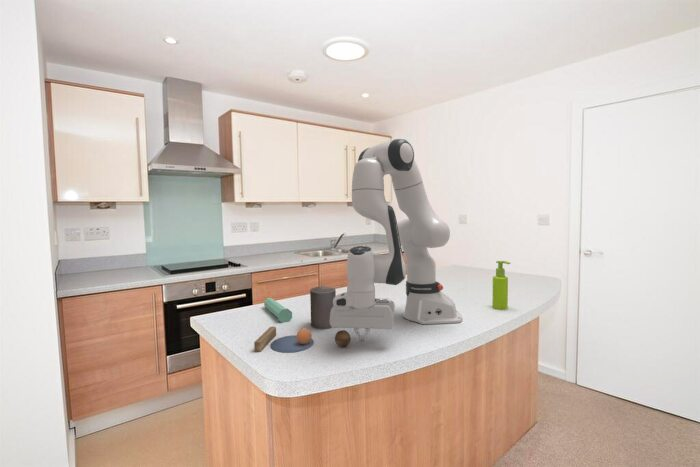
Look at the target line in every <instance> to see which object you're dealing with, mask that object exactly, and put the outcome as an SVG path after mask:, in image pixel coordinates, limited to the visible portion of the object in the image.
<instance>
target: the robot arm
mask: <svg viewBox="0 0 700 467" xmlns="http://www.w3.org/2000/svg"><path fill="white" fill-rule="evenodd" d="M386 175H389V176H390V177H391V183H392V188H393V190H394V195H395V199H396V202H397V205H398V208H399V210H400V211H401V212H402V213H403V214H405V216H406V217H407V218H406V219H402V220H400V221H397V217H396V212H395V210H394V208H393V207H392V205H390V204H388V202H387V200H386V198H385V197H386V196H385V184H384V182H385V181H384V180H385V179H384V177H385V176H386ZM351 180H352V181H351V202H352V203H351V204H352V207H353V209H354V210H355V212H356V213H357V214H359V215H360V216H362V217H363V218H366V219H369V220H370V221H374V222H376V223H378V224H380V225H381V226H382V227H383V229H384V230H385V235H386V242H387V248H388V253H386V254H385V253H384V254H379V253H376V254H374V252H373V249H372V247H371V246H370V247H369V246H365V245H361V246H360V245H359V246H353V247H352V248H350V249H349V250H348V252H347V259H346V279H347V286H346V291H345V292H342V293H338V294H336V296H335V298H334V299H333V305H334V306H333V307H332V309H331V312H330V325H331V327H332V328H334V329H336V328H337V329H353V333H354V334H355V336H356V340H357V343H358V342H362V343H366V342H367V340H368V339H367V337H368V335H369V333H370V332H371V330H374V329H375V330H392V329H393V328H394V324H395V323H394V322H395V320H394V312H395V308H396V307H395V306H396V305H395V303H394V301H393V300H391V299H389V298H376V286H375V284H385V285H392V286H398V285H399V284H401V283H402V282H403V281H404V280H405V279H406V281H405V282H406V283H405V294H406V300H405V306H404V312H403V315H402V316H403V318H405V319H406V320H408V321H411V322H412V321H413V322H415V323H418V324H420V325H433V324H435V325H439V324H457V323H458V324H459V323H461V322H462V321H463V316H462V314H461V313H460V312H459V311H457V309H456V304H455V303H454V301H453V299H452V298H450V297H449V296H447V295H446V294H445V293H444V292H443V289H444V286H443V284H441V283H440V282H439V281H436V280H437V279H436V276H437V275H436V274H437V273H436V266H437V265H436V261H435V259H434V258H433V257H432V256H431V254H430V252H429V250H428V249H434V248H441V247H444V246H445V245H446V244H447V243H448V242H449V240H450V236H451V229H450V227H449V225H448V224H447V223H446V222H445V221H444V220H442V219H441V218H440V217H439V216H438V215H437V214H436V212H435V210H434V209H433V207H432V206H431V204H430V201H429V199H428V197H427V193H426V190H425V185H424V182H423V177H422V175H421V172H420V169H419V166H418V165H417V162H416V160H415V151H414V148H413V146H412V144H411V143H410V142H409V141H408V140H406V139H404V138H403V139H402V138H397V139H393V140H389V141H383V142H380V143H378V144H376V145H374V146H371V147H367V148H365V149H364V150H362V151H361V152H360V154H359V156H358V159H357V162H356V163H355V165H354V167H353V173H352V179H351ZM403 253H404V255H403ZM404 256H405V257H404ZM404 258H405V259H404ZM359 329H364V331H365V334H360V332H359Z"/></svg>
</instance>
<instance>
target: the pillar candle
mask: <svg viewBox="0 0 700 467" xmlns="http://www.w3.org/2000/svg"><path fill="white" fill-rule="evenodd" d="M336 293H337V292H336V288H335V287H333V286H323V285H321V286H315V287H312V288H310V290H309V294H310V295H309V297H310V326H311V327H312V328H313V329H317V330H326V329H331V328H332V327H331V325H330V312H331V309H332V307H333V306H334V305H333V299H334V298H335V296H337V294H336Z"/></svg>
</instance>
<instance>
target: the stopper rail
mask: <svg viewBox="0 0 700 467" xmlns="http://www.w3.org/2000/svg"><path fill="white" fill-rule="evenodd" d="M276 336H277V326H270V327H268V328H267V330H266V331H264V332H263V333H262V334H261V335H260V336H259V337H258V338H257V339H256V340H254V342H253V343H254V347H253V348H254V352H262V351H264V349H265V348H266V347H267V346H268V345H269V344H270V343H271V342H272V341H273V339H274V338H275V337H276Z"/></svg>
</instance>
